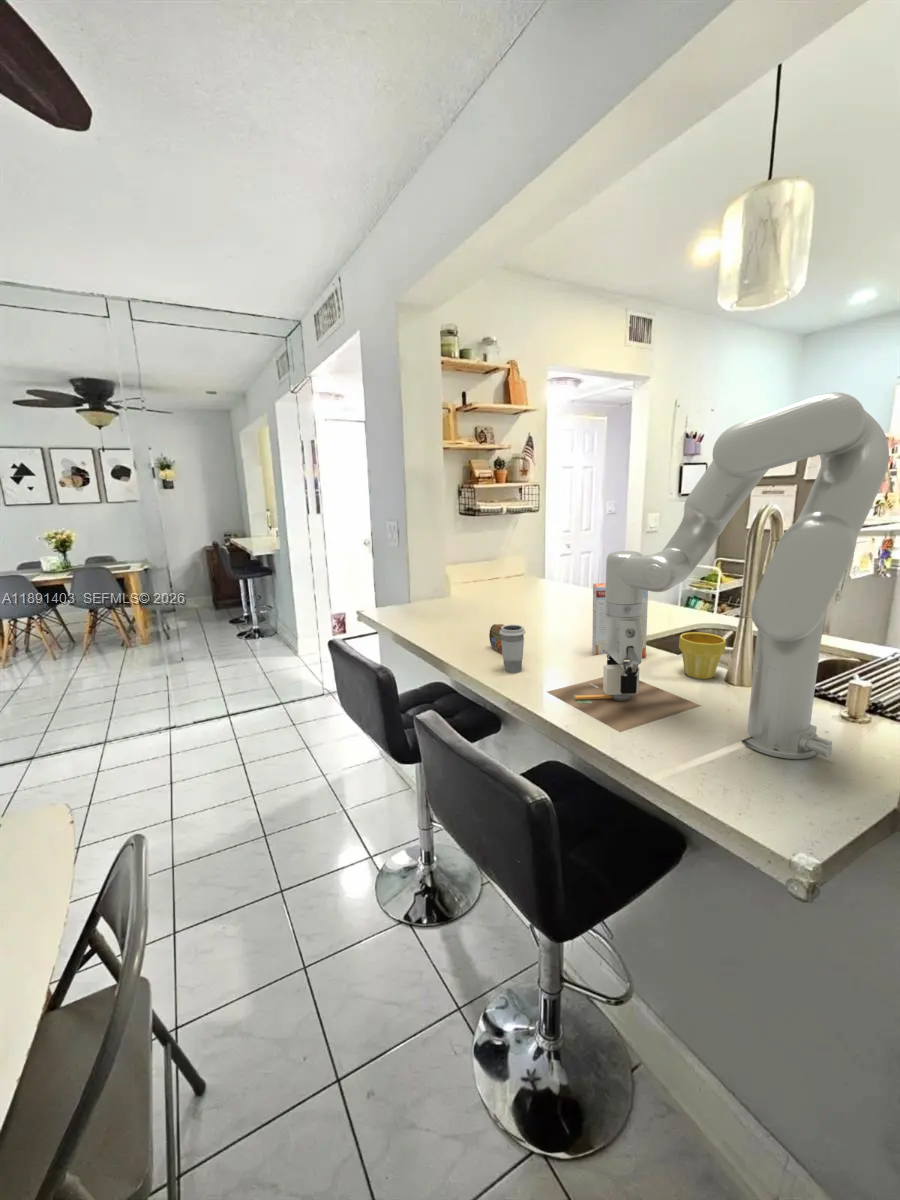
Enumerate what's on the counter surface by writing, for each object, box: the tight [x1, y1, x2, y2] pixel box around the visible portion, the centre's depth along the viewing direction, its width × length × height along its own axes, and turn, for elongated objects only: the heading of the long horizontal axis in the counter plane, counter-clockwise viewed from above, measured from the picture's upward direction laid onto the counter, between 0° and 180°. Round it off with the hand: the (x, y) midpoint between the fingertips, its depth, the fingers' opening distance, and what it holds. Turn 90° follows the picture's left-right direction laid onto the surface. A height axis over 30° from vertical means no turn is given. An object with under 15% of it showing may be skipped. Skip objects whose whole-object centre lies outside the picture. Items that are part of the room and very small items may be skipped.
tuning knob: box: [575, 664, 640, 701], centre depth 111 cm, size 14×4×7 cm, turn 90°
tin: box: [488, 623, 506, 655], centre depth 149 cm, size 15×3×8 cm, turn 25°
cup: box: [499, 624, 526, 674], centre depth 134 cm, size 7×7×12 cm
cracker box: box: [591, 582, 649, 658], centre depth 142 cm, size 14×6×21 cm, turn 84°
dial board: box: [547, 677, 702, 733], centre depth 112 cm, size 23×23×2 cm
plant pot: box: [678, 631, 726, 680], centre depth 126 cm, size 10×10×10 cm
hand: (620, 684), depth 111 cm, fingers open, 9 cm apart
